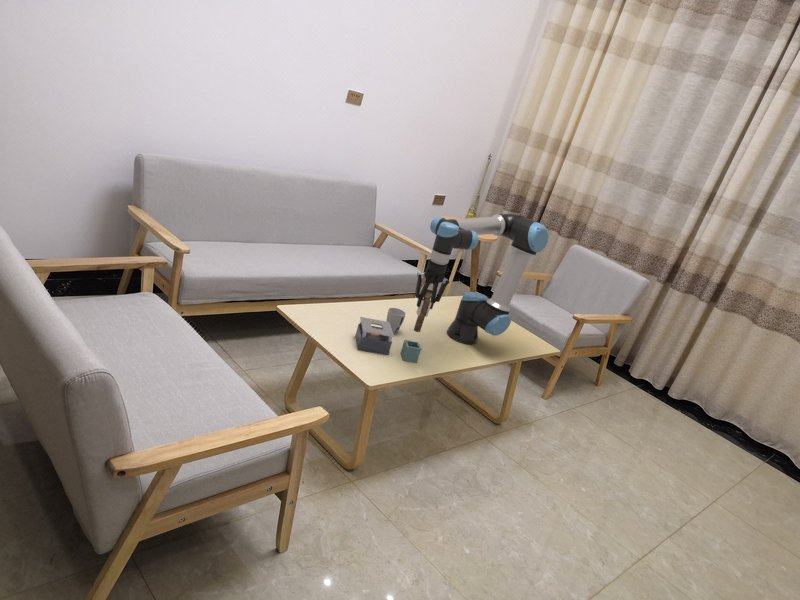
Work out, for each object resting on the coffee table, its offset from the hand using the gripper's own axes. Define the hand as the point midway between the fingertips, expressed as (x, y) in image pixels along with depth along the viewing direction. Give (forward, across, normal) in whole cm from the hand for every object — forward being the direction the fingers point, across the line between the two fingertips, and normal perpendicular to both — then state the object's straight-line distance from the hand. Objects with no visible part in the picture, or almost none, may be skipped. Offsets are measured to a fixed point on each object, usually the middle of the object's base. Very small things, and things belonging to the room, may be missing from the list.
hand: (421, 314), depth 220 cm
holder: (+20, 0, 0) cm, 20 cm away
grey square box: (+20, +15, -6) cm, 26 cm away
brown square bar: (+7, 0, 0) cm, 7 cm away
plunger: (+18, +15, -6) cm, 24 cm away
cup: (+21, +4, -24) cm, 32 cm away
